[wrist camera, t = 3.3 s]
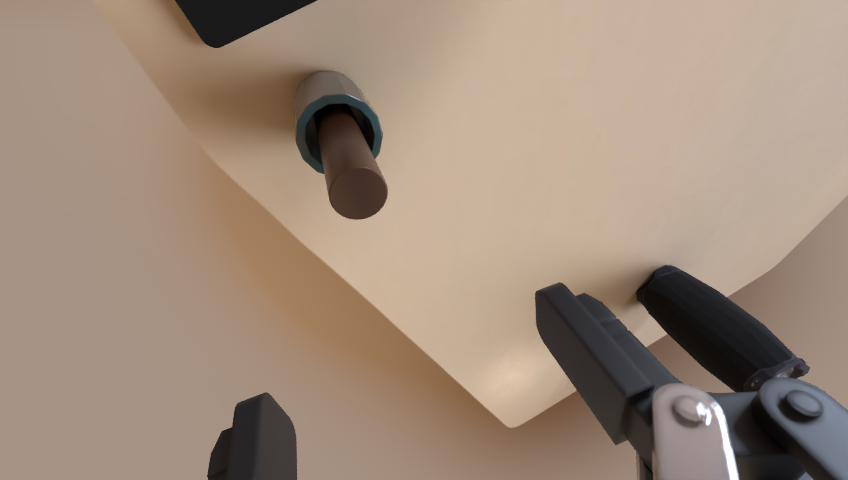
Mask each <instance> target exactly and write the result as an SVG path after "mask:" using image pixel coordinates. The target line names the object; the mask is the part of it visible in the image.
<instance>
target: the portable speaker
mask: <svg viewBox="0 0 848 480" xmlns="http://www.w3.org/2000/svg"><path fill="white" fill-rule="evenodd" d="M654 274H655V277H654V278H653V279H652V280H651V281H650V282H649V284H648V285H647V286H646V287H645V288H644V289H639V290H638V291H637V293H636V294H637V300H638V301H639V302H640V303H641V304H642V305H643V306H644V307H645V308H646V310H647V311H648V313H649V314H650V315H651V316H652V317H653V318H654V319H655V320H656V321H657V322H658V323H659V325H660V326H661V327H662V328H663V329H664V330H665V331H666V332H667V333H668V334H669V335H670V336H671V337H672V338H673V339H674V340H675V341H676V342H677V343H678V344H679V345H680V346H681V347H682V348H684V349H685V350H686V351H687V352H688V353H689V354H690V355H691V356H692V357H693V358H694V359H695V360H696V361H697V362H698V363H699V364H700V365H701V366H702V367H704V368H705V369H706V370H708V371H709V372H710V373H711V374H713V375H714V376H716V377H717V378H718V379H719V380H721V381H722V382H723V383H724V384H726V385H727V386H728V387H730V388H731V389H732V390H734V391H735V392H755V391H759V389H760V388H761V386H762V385H763V383H765V382H766V381H767V380H769V379H772V378H777V377H788V378H794V379H797V378H798V377H800V376H804V375H805V374H807V373H808V371H809V369H810V367H809V366H807V365H806V364H805V361H804V360H803V359H800V358H797V357H796V356H795V355H794V354H793V353H792V352H791V351H790V350H789V349H788V348H787V347H786V346H785V345H784V344H783V343H782V342H781V341H780V340H779V339H778V338H777V337H776V336H775V335H774V334H773V333H772V332H771V331H770V330H769V329H768V328H767V327H766V326H765V325H764V324H762V323H761V322H759V321H758V320H757V319H755V318H754V317H753V316H751V315H750V314H748V313H747V312H746V311H744V310H743V309H742V308H740V307H739V306H738V305H736V304H735V303H733V302H732V301H731V300H729V299H728V298H727V297H725V296H724V295H722V294H721V293H720V292H718V291H717V290H715V289H714V288H712V287H710V286H708V285H707V284H705V283H703V282H702V281H700V280H698V279H696V278H695V277H693V276H691V275H689V274H688V273H686V272H684V271H682V270H680V269H678V268H676V267H674V266H665V267H662V268H660V269H657V270H656V271H655V273H654Z"/></svg>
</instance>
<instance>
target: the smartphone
mask: <svg viewBox="0 0 848 480" xmlns="http://www.w3.org/2000/svg"><path fill="white" fill-rule="evenodd" d="M175 1H176V3H177V4H178V5H179V7H180V8H181V10H182V11H183V13H184V14H185V16H186V17H187V19H188V20H189V22H190V23H191V25H192V26H193V28H194V29H195V30H196V32H197V33H198V35H199V36H200V38H201V39H202V41H203V42H204V43H205V44H207V45H208V46H210V47H213V48H220V47H222V46H224V45H227V44H229V43H231V42H233V41H235V40H237V39H239V38H241V37H243V36H245V35H247V34H249V33H251V32H253V31H255V30H257V29H259V28H261V27H263V26H266V25H268V24H270V23H272V22H274V21H276V20H278V19H280V18H282V17H284V16H286V15H288V14H290V13H292V12H294V11H296V10H298V9H300V8H302V7H305V6H307V5H309V4H311V3H313V2H315V1H317V0H175Z"/></svg>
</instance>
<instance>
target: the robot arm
mask: <svg viewBox="0 0 848 480" xmlns="http://www.w3.org/2000/svg"><path fill="white" fill-rule="evenodd" d="M535 302H536V325H537V329H538V332H539V334H540V336H541V338H542V340H543V342H544V344H545V345H546V346H547V348H548V349H549V351H550V352H551V354H552V355H553V356H554V358H555V359H556V361H557V362H558V364H559V365H560V366H561V368H562V369H563V371H564V372H565V374H566V375H567V376H568V378H569V379H570V381H571V382H572V384H573V385H574V386H575V388H576V389H577V391H578V392H579V394H580V395H581V396H582V398H583V399H584V401H585V402H586V404H587V405H588V406H589V408H590V409H591V411H592V412H593V414H594V415H595V416H596V418H597V419H598V421H599V422H600V423H601V425H602V426H603V428H604V429H605V431H606V432H607V434H608V435H609V436H610V438H611V439H612V441H613V442H614V444H615V445H617V444H619V443H622V442H624V441H626V440H628V441H629V442H630V443H631V445H632V446H633V447H634V449H635V450H636V466H637V480H848V410H846V409H845V408H844V407H843V406H842V405H841V404H839V403H838V402H837V401H836V400H835V399H833V398H832V397H831V396H830V395H828V394H827V393H826V392H824V391H823V390H821V389H819V388H818V387H816V386H814V385H812V384H810V383H807V382H805V381H802V380H798V379H794V378H788V377H777V378H772V379H769V380H767V381H766V382H765V383H763V385H762V386H761V388H760V389H759V391H755V392H735V393H709V392H704V391H703V390H701V389H699V388H697V387H694V386H691V385H688V384H684V383H682V382H681V381H679V380H678V379H677V378H675V377H674V376H673V375H672V374H671V373H670V372H669V371H668V370H667V369H666V368H665V367H664V366H663V365H662V364H661V363H660V362H659V361H658V360H657V359H656V358H655V357H654V356H653V355H652V354H651V352H649V350H648V349H647V348H646V347H645V346H644V345H643V344H642V343H641V342H640V341H639V340H638V339H637V338H636V337H635V336H634V335H633V334H632V333H631V332H630V331H628V330H627V328H626V327H625V326H624V325H623V323H622V322H621V321H620V320H619V319H616V316H615V315H614V314H613V313H612V312H611V311H610V310H609V309H608V308H607V307H606V306H605V305H604V304H603V303H602V302H600V301H598V300H597V299H595V298H593V297H591V296H589V295H587V294H585V293H583V294H580V295H578V296H574V295H573V293H572V292H571V291H570V290H569V289H568V288H567V287H566V286H565V285H564V284H563V283H560V282H559V283H556V284H554V285H551V286H548V287H546V288H543V289H540V290H538V291H536V293H535ZM296 451H297V450H296V434H295V430H294V426H293V423H292V421H291V419H290V418H289V416H288V415H287V414H286V413H285V412H284V410H283V409H282V408H281V407H280V406H279V405H278V403H277V402H276V401H275V400H274V399H273V397H272V396H271V395H270V394H269V393H263V394H260V395H257V396H255V397H252V398H250V399H247V400H244V401H242V402H239V403H238V404H237V405H236V407H235V411H234V418H233V427H232V428H229V429H226V430H224V431H222V432H221V434H220V437H219V438H218V441H217V443H216V445H215V447H214V449H213V451H212V453H211V458H210V463H209V469H208V475H207V477H208V480H297V455H296V454H297V452H296Z"/></svg>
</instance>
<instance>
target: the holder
mask: <svg viewBox="0 0 848 480" xmlns="http://www.w3.org/2000/svg"><path fill="white" fill-rule="evenodd" d="M341 103H345V104H348V105H349V107H350V109H351V111H352V113H353V115H354V117H355V119H356V121H357V123H358V125H359V127H360V129H361V132H362V134H363V136H364V138H365V140H366V142H367V144H368V146H369V148H370V150H371V152H372V155H373V157H374V159H375V158H376V157H377V156H378V154H379V152H380V148H381V143H382V137H383V135H382V134H383V133H382V129H381V126H380V122H379V119H378V116H377V115H376V113H375V112H374V110H373V108H372V107H371V105H370V104H369V102H368V101H367V99H366V98H365V96H364V95H363V93H362V91H361V90H360V89H359V88H358V87H357V85H356V84H355V83H354V82H353V81H352V80H351V79H350V78H348V77H347V76H345V75H343V74H341V73H338V72H334V71H320V72H317V73H314V74H312V75H310V76H308V77H307V78H306V79H305V80H304V81H303V82H302V83H301V84H300V86H299V88H298V89H297V92H296V95H295V102H294V118H295V138H296V144H297V146H298V149H299V151H300V153H301V155H302V158H303V159H304V161H305V162H307V163H308V164H309V165H310V166H311V167H312V168H313V169H315V170H316V171H317V172H319V173H322V174H324V168H323V163H322V158H321V152H320V147H319V142H318V136H317V131H316V126H315V120H314V115H313V114H314V112H316V111H318V110H319V109H321V108H323V107H325V106H326V105H328V104H341Z"/></svg>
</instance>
